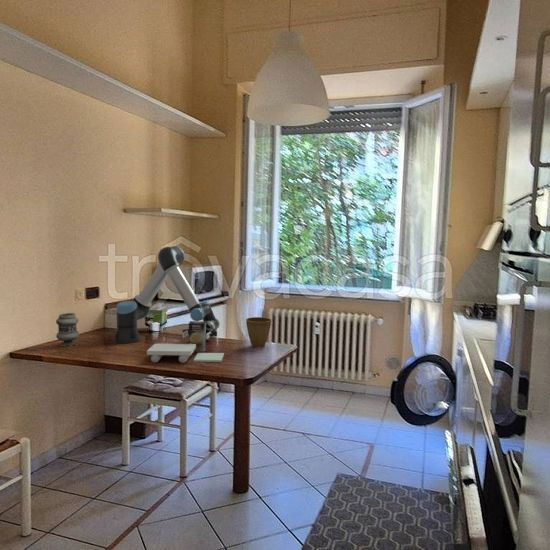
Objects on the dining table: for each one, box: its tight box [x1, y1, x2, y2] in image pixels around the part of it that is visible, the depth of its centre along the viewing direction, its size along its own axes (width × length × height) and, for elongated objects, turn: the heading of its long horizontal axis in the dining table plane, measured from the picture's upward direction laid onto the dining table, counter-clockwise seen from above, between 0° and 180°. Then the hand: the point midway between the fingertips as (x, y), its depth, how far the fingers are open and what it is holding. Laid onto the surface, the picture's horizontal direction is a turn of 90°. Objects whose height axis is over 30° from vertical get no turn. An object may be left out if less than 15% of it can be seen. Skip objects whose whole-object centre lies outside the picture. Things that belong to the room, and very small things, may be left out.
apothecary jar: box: [55, 312, 80, 347], centre depth 265 cm, size 12×12×18 cm
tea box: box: [148, 306, 169, 332], centre depth 314 cm, size 15×10×15 cm
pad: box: [193, 352, 225, 363], centre depth 242 cm, size 14×14×1 cm
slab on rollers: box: [146, 343, 196, 364], centre depth 239 cm, size 22×16×6 cm
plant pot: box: [245, 316, 272, 348], centre depth 269 cm, size 15×15×16 cm
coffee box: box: [188, 320, 207, 353], centre depth 257 cm, size 9×6×16 cm
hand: (195, 335), depth 253 cm, fingers open, 13 cm apart
